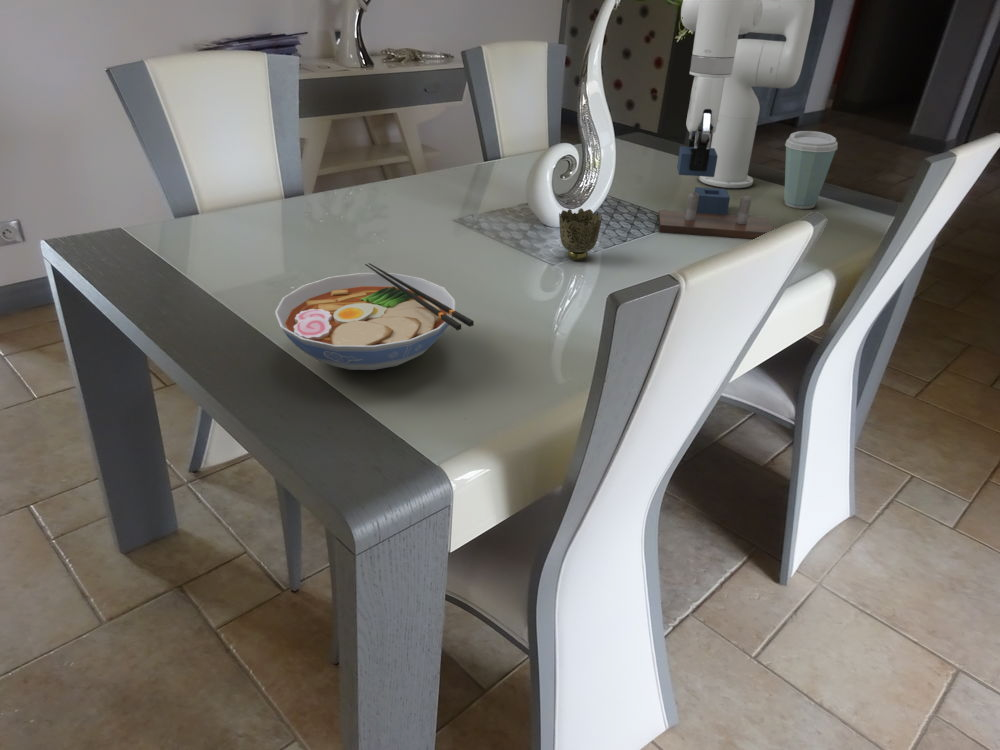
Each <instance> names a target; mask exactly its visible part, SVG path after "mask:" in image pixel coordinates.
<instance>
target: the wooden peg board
mask: <svg viewBox="0 0 1000 750" xmlns="http://www.w3.org/2000/svg"><path fill="white" fill-rule="evenodd" d="M698 199H699V195H698V193H696V192H695V191H692V192H690V193H689V194H688V197H687V204H686V211H682V210H681V211H680V210H679V211H678V210H665V209H658V214H657V219H658V231H659V233H664V234H665V233H666V234H679V235H681V234H682V235H693V236H708V237H721V238H732V239H733V238H735V239H738V238H739V239H747V240H748V239H749V240H756V239H755V238H757V237H759V236H761V235H763V234H765V233H767V232H769V231H772V230H774V229H775V227H774V225H773V222H772V221H771V219H770V217H766V216H753V215H749V214H750V208H751V203H752V198H751V196H750V195H747V194H746V195H745V194H744V195H742V196H741V197H740V201H739V206H738V211H737V214H727V215H725V214H711V213H696V212H697V206H698Z"/></svg>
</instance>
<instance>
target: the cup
mask: <svg viewBox="0 0 1000 750" xmlns="http://www.w3.org/2000/svg"><path fill="white" fill-rule="evenodd" d="M558 220H559V221H558V223H559V224H558V225H559V236H560V241H561V244H562V246H563V247H564V249H565V250H567V253H566V255H567V257H568V259H570V260H571V261H576V262H578V261H579V262H580V261H581V262H582V261H584V260H586V259H587V258H588V257H589V252H590V251H591V250H592V249H594V248H595V246H596V244H597V242H598V238H599V235H600V230H601V225H602V221H603V215H602V214H601V213H600V214H599V212H598V211H596V212H593V211H592V209H589V208H588V209H586V210H584V208H581V207H580V208H578V211H577V212H573V210H572V209H571V208H569V209H567V210H564V209H562V210H561V212H559V213H558Z"/></svg>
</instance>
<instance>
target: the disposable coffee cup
mask: <svg viewBox="0 0 1000 750" xmlns="http://www.w3.org/2000/svg"><path fill="white" fill-rule="evenodd" d="M838 145H839V144H838V141H837V137H834V136H833V135H832V134H829V133H825V132H822V131H812V130H799V131H795V132H792V133H790V135H789V137H788V138H787V139H786V140H785V143H784V146H785V166H784V167H785V168H784V169H785V171H784V193H783V194H784V196H783V198H784V199H783V201H784V205H786V206H787V207H789V208H793V209H798V210H799V209H800V210H809V209H813V208H815V206H816V205H817V203H818V200H819V197H820V194H821V192H822V190H823V186H824V183H825V182H826V181H825V180H826V178H827V175H828V172H829V170H830V167H831V164H832V162H833V159H834V156H835V154H836V151H837V150H838Z"/></svg>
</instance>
